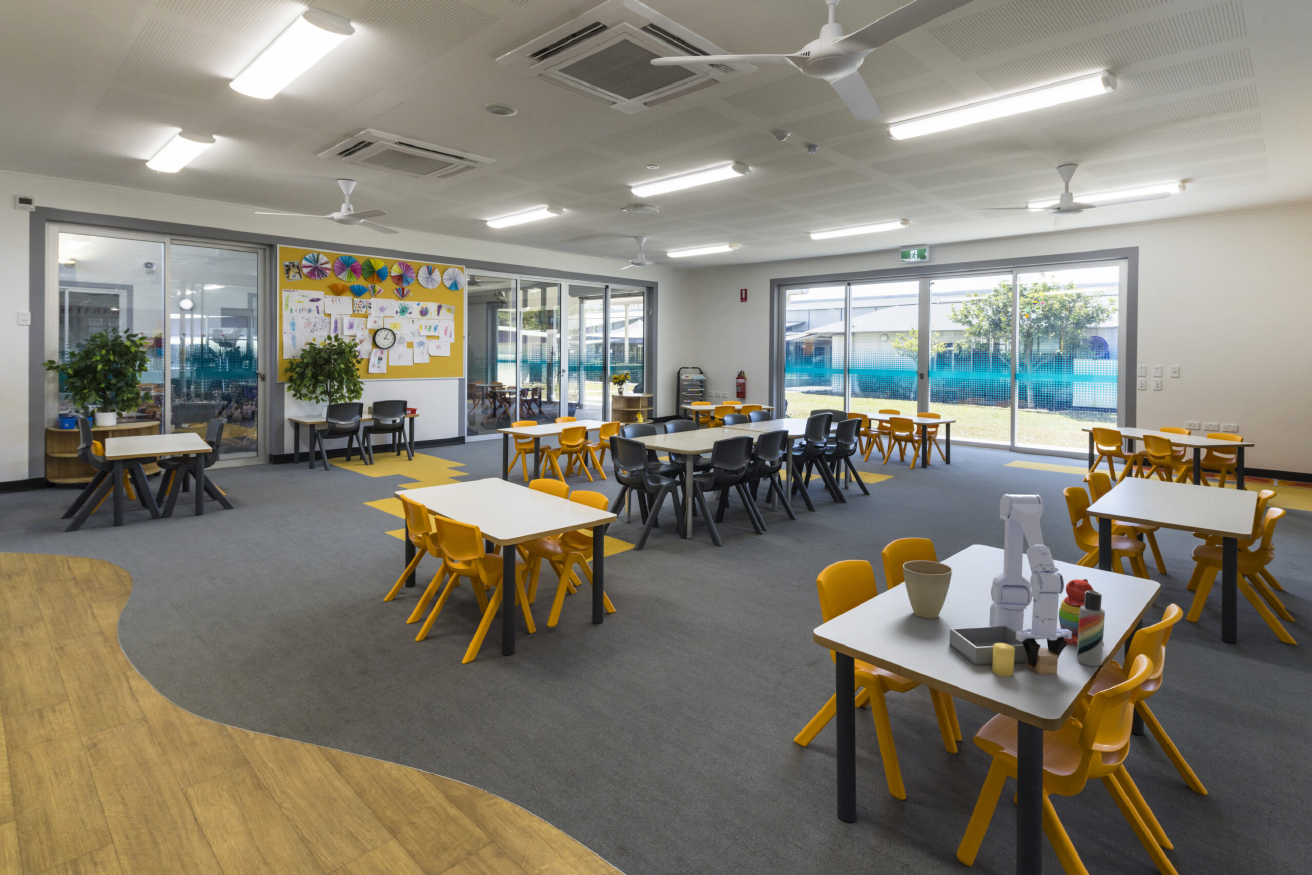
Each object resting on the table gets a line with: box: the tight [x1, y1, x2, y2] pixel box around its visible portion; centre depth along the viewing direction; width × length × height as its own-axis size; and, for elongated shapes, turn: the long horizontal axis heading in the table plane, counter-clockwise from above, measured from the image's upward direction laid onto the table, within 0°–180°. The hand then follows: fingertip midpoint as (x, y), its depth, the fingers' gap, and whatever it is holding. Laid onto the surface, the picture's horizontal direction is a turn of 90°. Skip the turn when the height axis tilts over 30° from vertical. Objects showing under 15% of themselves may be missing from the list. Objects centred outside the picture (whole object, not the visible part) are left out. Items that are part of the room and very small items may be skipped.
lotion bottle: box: [1076, 590, 1106, 667], centre depth 181 cm, size 6×6×20 cm
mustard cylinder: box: [991, 643, 1015, 678], centre depth 177 cm, size 5×5×7 cm
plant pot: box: [902, 560, 953, 620], centre depth 216 cm, size 15×15×16 cm
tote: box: [949, 625, 1027, 666], centre depth 188 cm, size 17×13×5 cm
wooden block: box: [1026, 646, 1059, 676], centre depth 178 cm, size 5×5×5 cm
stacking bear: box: [1058, 578, 1095, 647], centre depth 197 cm, size 11×10×18 cm
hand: (1041, 664), depth 178 cm, fingers closed on wooden block, 5 cm apart
